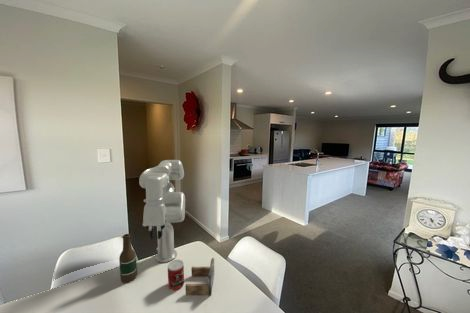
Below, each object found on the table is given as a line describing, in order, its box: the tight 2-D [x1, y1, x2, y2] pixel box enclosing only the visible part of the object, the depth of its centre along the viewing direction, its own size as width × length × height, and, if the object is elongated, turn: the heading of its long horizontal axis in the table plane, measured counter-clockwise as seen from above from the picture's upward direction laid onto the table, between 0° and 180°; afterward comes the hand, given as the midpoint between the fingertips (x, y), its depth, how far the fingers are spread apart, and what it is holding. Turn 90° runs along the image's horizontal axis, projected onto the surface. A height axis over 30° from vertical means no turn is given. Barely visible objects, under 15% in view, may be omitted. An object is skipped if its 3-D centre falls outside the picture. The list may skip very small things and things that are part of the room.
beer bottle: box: [118, 233, 138, 284], centre depth 102 cm, size 8×8×24 cm
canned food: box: [167, 259, 185, 291], centre depth 98 cm, size 8×8×11 cm
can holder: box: [185, 257, 215, 297], centre depth 98 cm, size 12×13×10 cm
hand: (156, 237), depth 96 cm, fingers open, 2 cm apart
